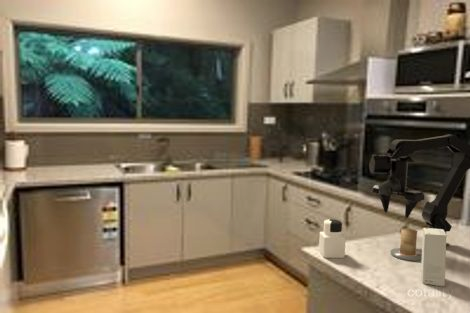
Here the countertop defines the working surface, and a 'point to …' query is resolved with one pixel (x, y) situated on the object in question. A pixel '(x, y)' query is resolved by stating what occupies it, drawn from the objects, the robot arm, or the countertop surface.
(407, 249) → the oak canister
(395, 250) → the coaster
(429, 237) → the skincare box
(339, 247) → the medicine bottle
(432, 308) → the countertop surface
